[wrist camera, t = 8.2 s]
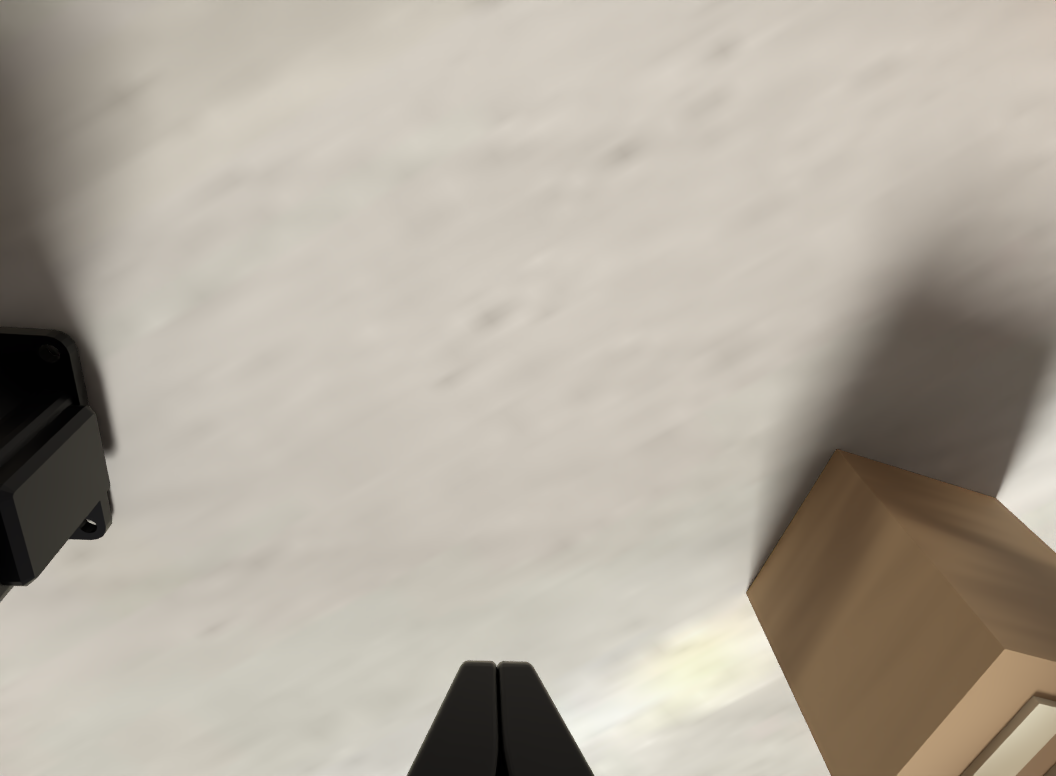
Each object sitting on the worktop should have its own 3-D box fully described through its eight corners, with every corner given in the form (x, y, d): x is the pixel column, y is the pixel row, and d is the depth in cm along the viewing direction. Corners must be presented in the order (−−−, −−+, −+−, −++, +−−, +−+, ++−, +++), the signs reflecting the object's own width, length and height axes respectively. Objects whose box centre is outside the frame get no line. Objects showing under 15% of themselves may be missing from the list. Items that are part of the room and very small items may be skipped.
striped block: (746, 592, 25) (857, 832, 17) (836, 448, 22) (1011, 656, 15) (899, 631, 26) (1064, 871, 18) (1000, 499, 23) (1236, 714, 16)
